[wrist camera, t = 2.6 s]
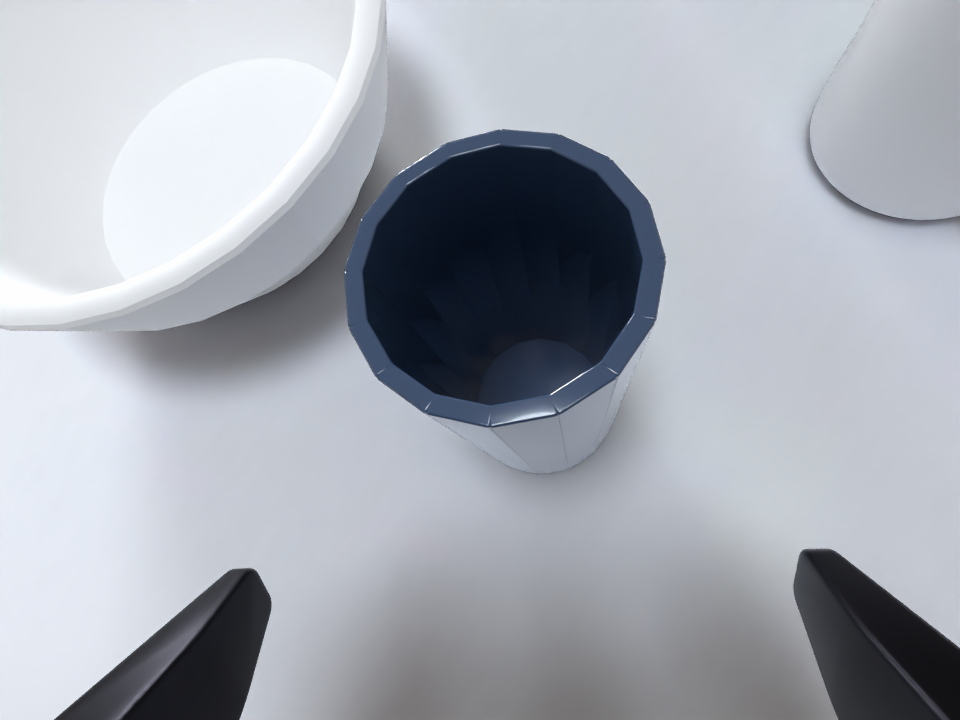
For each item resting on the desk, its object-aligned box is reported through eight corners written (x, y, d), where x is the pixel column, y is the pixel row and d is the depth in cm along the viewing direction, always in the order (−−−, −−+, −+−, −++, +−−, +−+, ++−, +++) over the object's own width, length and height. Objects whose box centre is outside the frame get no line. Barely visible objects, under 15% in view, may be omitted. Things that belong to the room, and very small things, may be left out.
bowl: (257, -33, 33) (156, -207, 25) (531, 133, 26) (512, -34, 18) (-8, 225, 31) (-212, 126, 23) (213, 484, 24) (30, 470, 16)
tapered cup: (643, 422, 21) (738, 300, 9) (518, 502, 21) (439, 492, 9) (560, 309, 23) (542, 79, 11) (446, 382, 23) (297, 236, 11)
